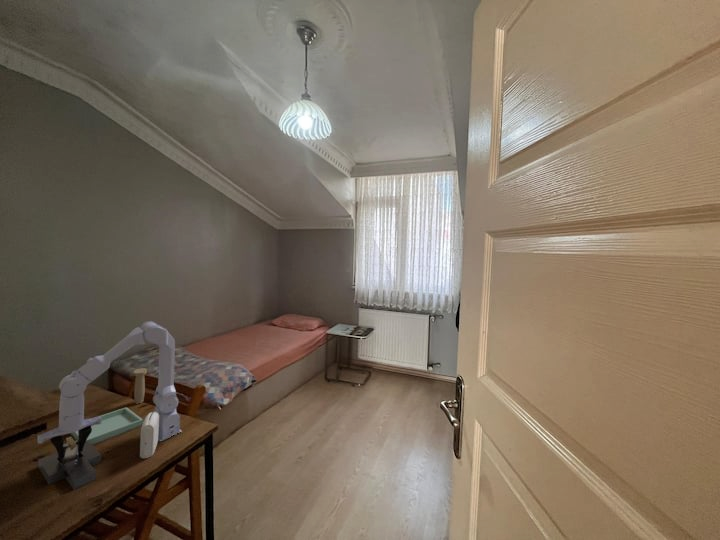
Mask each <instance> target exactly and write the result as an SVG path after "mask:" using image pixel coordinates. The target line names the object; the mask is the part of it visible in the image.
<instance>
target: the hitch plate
mask: <svg viewBox="0 0 720 540" xmlns="http://www.w3.org/2000/svg"><path fill="white" fill-rule="evenodd" d="M100 463H102V454H101V453H100V452H99V451H98V450H97V449H96V448H95V446H94V445H92V444H91V443H90V442H89V441H87V442H85V444H84V447H83V451H82V452H79V458H78V459H75V460H73V461H70V462H68V463H65V464H63V465H62V459H61V460H59V458H58V453H57V452H55V453H52V454H50V455H47V456H45V457H42V458H38V463H37V464H38V466H37V467H39V468H38V470H39V471H40V470H41V471H40V473H41V472H42V473H41V474H42V476H43V478H44V477H45V478H44V479H45V481H46V482H47V484H48V485H51V484H53V483H56V482H58V481H61V480H63V479H64V478H65V479H66V481H67V482H68V484H69V485H70V486H71V488H72V489H73V490H76V489H78V488H80V487H82V486H84V485H86V484H89V483H91V482H93V481H95V480H96V479H97V470H96V469H95V468H94V466H96V465H98V464H100Z"/></svg>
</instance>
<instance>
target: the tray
mask: <svg viewBox="0 0 720 540" xmlns="http://www.w3.org/2000/svg"><path fill="white" fill-rule="evenodd" d="M99 416H100V417H101V424H99V425H97V424H96V425H93V426H91V428H92V432H91V433H90V435H89V436H88V438H87V440H86V442H87V441H89V442H90V443H91V444H92V446H95V445H96V444H99V443H101V442H103V441H106V440H110V439H113V438H114V437H117V436H119V435H122V434H124V433H128V432H131V431H133V430H135V428H136V429H138V428H141V427H140V426H142V423H143V421H144V419H143V418H142V417H141V416H139V415H137V414H136V413H135V412H133V411H132V410H131V409H130V408H128V407H127V406H126V407H123V408H120V409H117V410H114V411H111V412H108V413H105V414H102V415H101V414H100V415H98V416H97V417H99ZM69 434H70V436H71V437H72V438H73V439H74V440H75V441H79V434H78V431H76V432H73V433H69Z"/></svg>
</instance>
